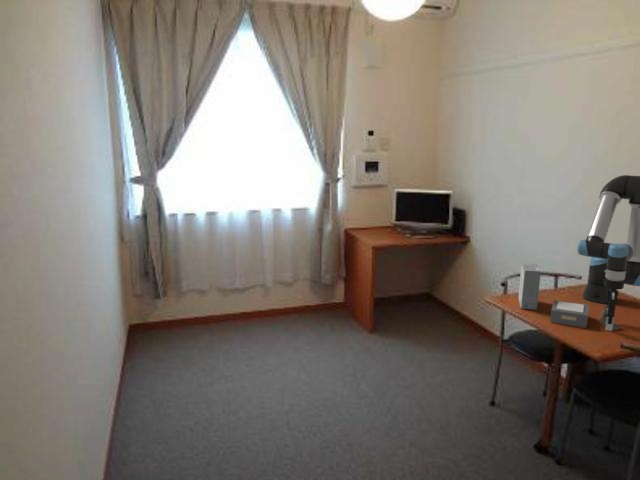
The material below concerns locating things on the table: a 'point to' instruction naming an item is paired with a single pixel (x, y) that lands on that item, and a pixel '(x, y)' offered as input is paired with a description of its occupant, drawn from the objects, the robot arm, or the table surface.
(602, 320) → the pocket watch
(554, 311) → the display plinth
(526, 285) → the hard drive box
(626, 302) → the table surface
